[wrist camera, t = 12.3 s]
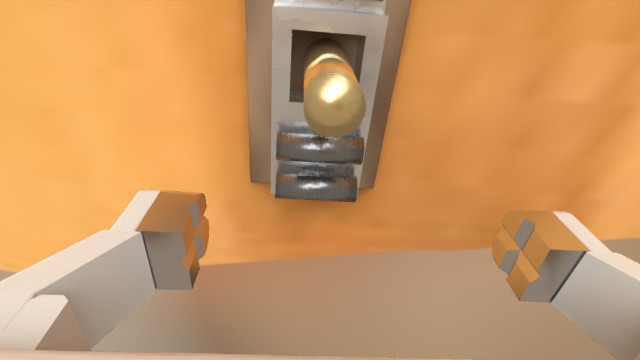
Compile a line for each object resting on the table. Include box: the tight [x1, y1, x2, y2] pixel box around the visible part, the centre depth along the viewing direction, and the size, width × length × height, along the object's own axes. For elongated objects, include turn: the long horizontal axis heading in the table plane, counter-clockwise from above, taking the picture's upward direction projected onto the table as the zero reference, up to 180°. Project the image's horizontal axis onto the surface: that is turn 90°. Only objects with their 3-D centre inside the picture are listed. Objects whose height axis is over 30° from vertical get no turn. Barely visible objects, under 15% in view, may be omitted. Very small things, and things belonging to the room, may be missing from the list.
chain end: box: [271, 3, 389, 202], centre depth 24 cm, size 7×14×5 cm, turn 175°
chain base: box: [246, 0, 411, 189], centre depth 25 cm, size 11×22×2 cm, turn 175°
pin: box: [304, 37, 366, 138], centre depth 21 cm, size 3×3×10 cm
